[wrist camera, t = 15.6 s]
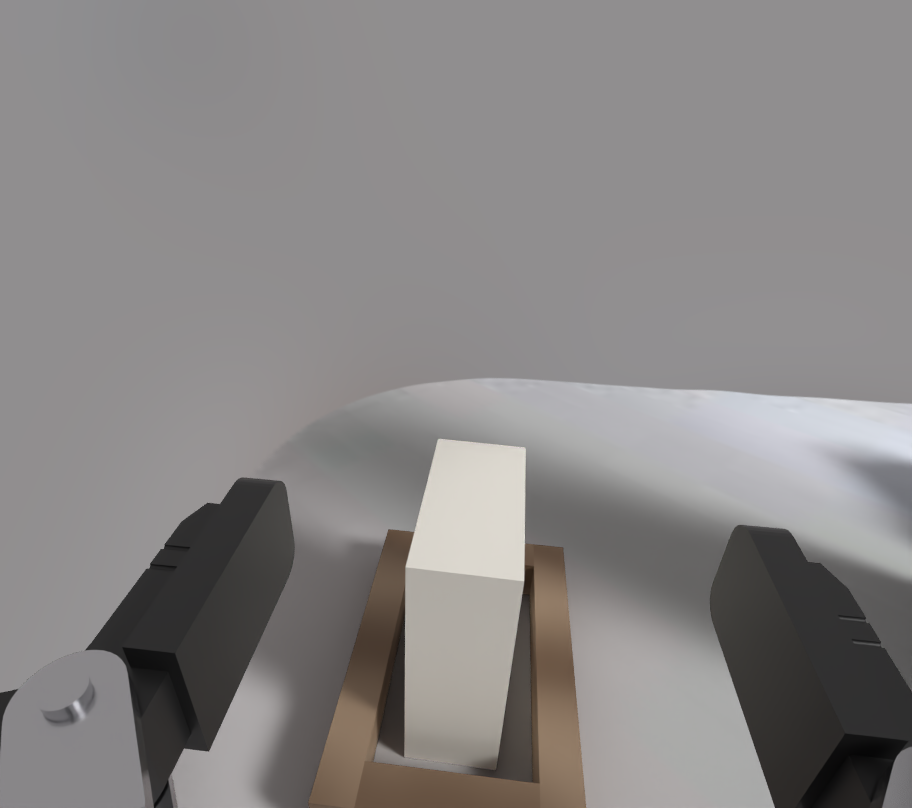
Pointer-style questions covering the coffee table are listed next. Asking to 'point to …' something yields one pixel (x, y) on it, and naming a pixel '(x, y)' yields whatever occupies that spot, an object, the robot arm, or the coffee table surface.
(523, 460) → the key block
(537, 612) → the frame
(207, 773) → the coffee table surface
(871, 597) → the coffee table surface
